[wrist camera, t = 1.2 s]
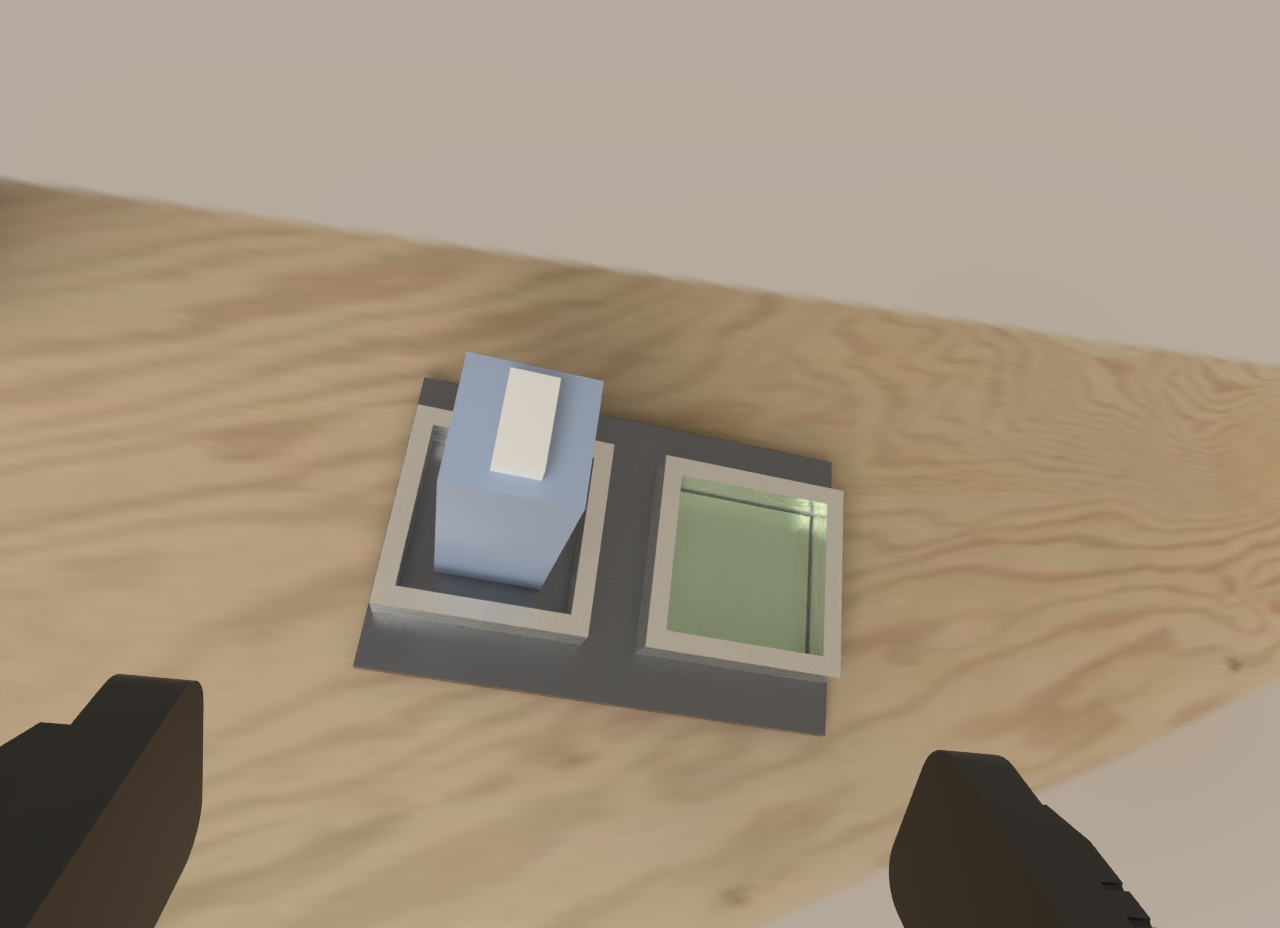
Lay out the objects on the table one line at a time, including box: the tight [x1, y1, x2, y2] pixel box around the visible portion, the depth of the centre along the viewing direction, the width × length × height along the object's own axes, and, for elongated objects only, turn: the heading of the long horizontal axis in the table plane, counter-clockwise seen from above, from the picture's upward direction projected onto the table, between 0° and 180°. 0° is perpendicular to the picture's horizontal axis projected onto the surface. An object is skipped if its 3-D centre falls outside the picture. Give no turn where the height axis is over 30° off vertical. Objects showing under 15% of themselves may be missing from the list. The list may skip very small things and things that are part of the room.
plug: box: [434, 352, 604, 589], centre depth 30 cm, size 4×4×12 cm
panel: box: [353, 378, 844, 736], centre depth 36 cm, size 20×13×2 cm, turn 83°
